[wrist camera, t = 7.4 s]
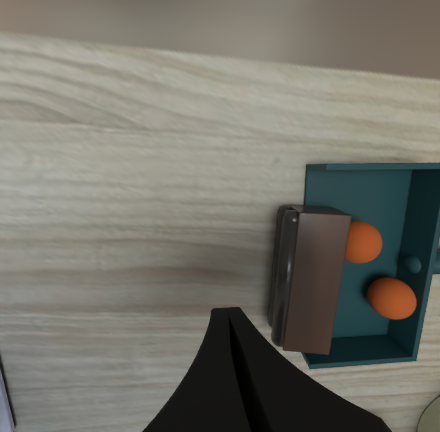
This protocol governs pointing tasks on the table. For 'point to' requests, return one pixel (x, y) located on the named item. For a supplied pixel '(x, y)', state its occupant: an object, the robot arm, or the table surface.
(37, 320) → the table surface
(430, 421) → the reusable coffee cup
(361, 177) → the dustpan
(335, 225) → the brush
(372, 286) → the ball
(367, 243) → the ball
